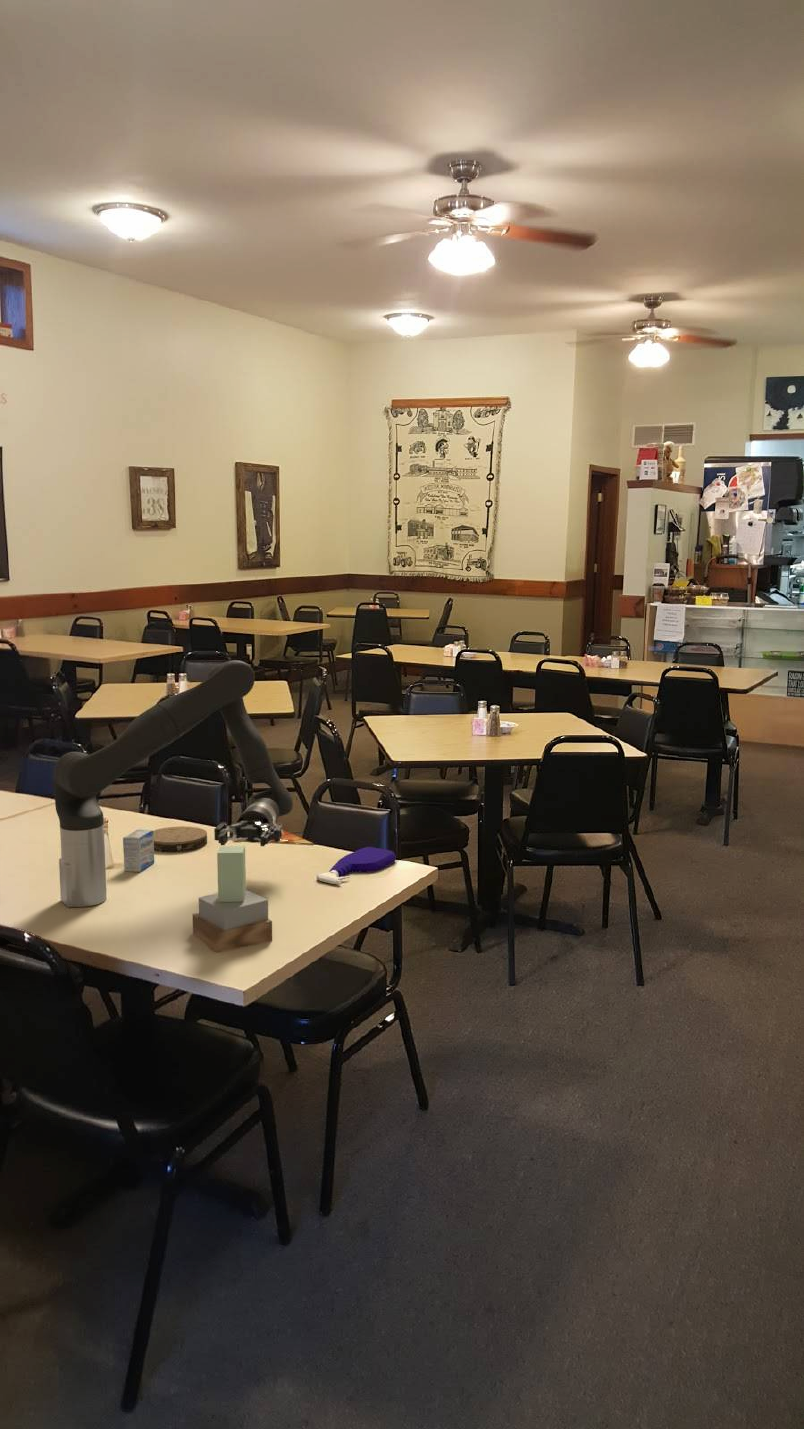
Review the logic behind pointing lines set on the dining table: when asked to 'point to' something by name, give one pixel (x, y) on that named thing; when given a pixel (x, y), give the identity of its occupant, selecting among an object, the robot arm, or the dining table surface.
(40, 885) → the dining table surface
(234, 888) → the sage pillar block
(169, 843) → the brown round disc
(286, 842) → the pizza slice
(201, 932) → the walnut base block
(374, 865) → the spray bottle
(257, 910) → the slate grey block
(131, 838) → the medicine box
